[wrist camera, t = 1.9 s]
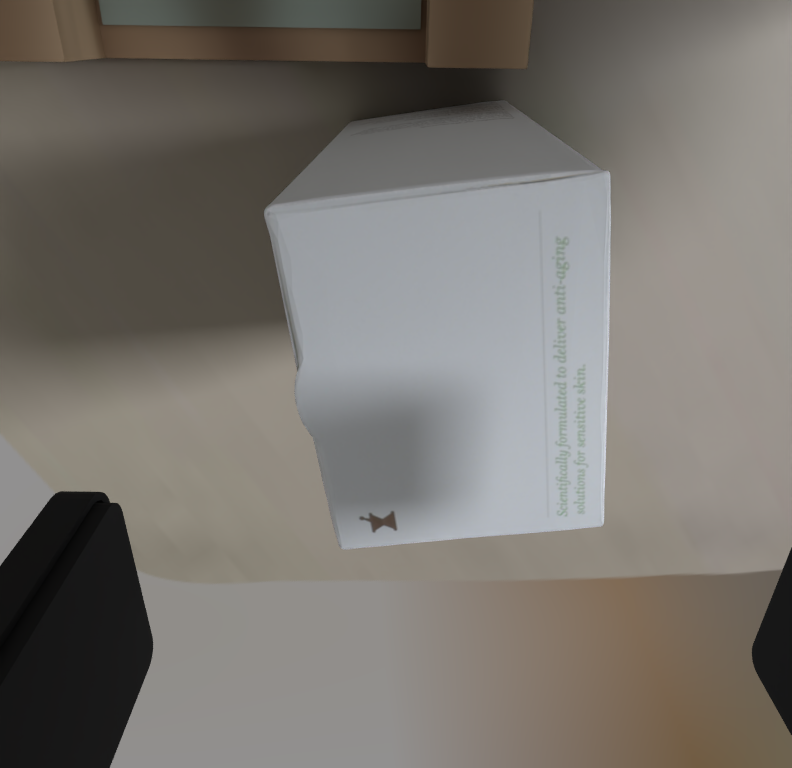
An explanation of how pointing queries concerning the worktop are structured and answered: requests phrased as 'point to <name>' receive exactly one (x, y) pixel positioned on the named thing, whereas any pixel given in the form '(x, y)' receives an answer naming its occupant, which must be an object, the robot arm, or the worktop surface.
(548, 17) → the worktop surface
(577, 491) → the skincare box
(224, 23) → the wooden u-shaped tray
